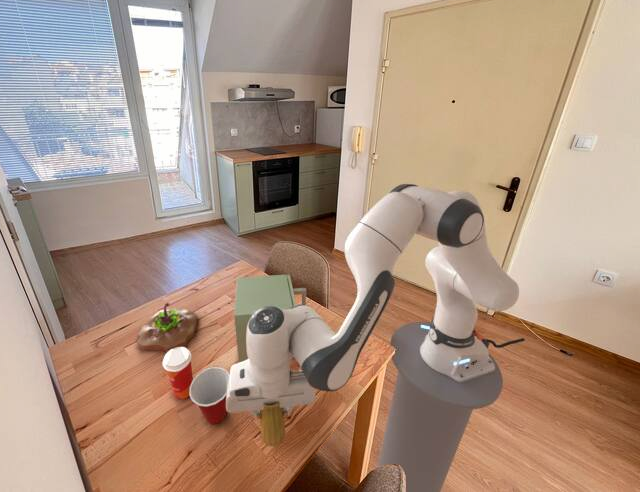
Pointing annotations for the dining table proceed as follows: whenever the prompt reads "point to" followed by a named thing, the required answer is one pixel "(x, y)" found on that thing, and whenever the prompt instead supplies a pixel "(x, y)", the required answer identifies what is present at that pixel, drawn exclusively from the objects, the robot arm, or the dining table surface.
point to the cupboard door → (296, 293)
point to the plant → (167, 329)
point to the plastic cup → (211, 393)
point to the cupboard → (257, 302)
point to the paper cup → (179, 371)
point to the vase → (272, 424)
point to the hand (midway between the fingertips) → (271, 414)
